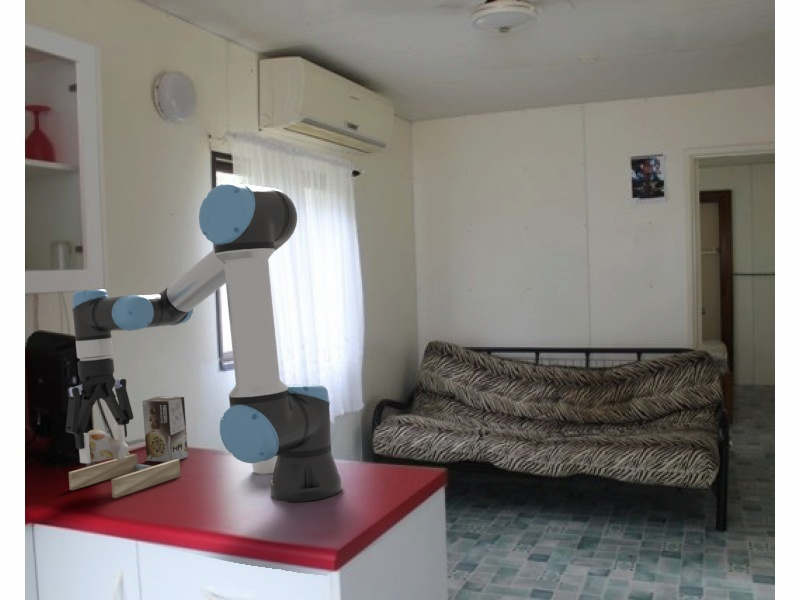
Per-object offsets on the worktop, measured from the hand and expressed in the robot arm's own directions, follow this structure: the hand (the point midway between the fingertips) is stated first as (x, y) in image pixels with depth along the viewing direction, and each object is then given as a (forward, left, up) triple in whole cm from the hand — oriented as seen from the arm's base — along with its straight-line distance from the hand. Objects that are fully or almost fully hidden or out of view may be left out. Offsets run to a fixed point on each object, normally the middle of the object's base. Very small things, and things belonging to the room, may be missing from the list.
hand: (103, 457), depth 165 cm
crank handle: (+13, -9, -8) cm, 18 cm away
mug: (0, -1, -1) cm, 1 cm away
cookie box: (+10, -26, -8) cm, 29 cm away
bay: (+1, -6, -7) cm, 10 cm away
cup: (-24, -27, -8) cm, 37 cm away
